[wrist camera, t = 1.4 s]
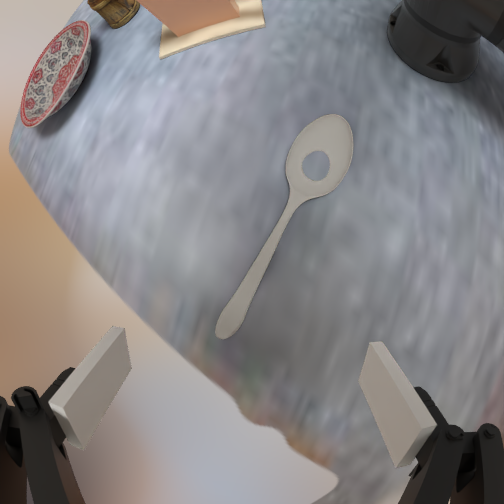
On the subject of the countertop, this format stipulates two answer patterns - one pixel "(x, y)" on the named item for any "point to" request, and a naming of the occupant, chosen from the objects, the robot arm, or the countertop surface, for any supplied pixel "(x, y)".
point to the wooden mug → (115, 10)
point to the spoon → (294, 204)
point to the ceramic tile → (191, 13)
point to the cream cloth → (214, 29)
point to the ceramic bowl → (57, 74)
